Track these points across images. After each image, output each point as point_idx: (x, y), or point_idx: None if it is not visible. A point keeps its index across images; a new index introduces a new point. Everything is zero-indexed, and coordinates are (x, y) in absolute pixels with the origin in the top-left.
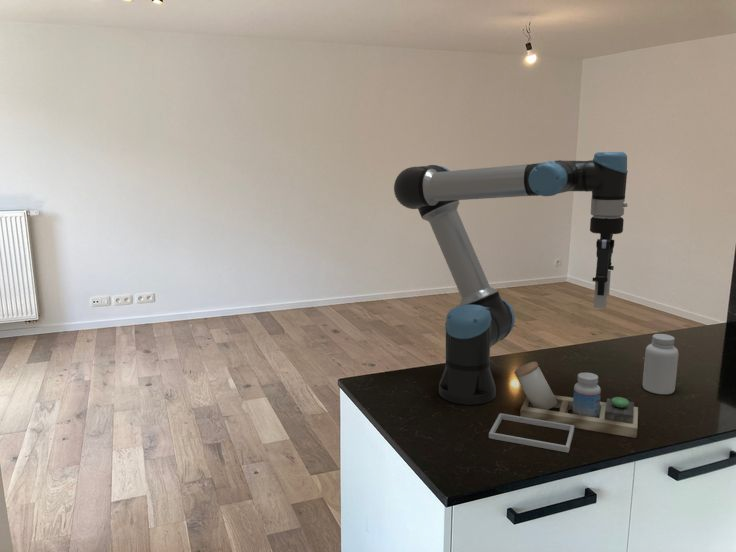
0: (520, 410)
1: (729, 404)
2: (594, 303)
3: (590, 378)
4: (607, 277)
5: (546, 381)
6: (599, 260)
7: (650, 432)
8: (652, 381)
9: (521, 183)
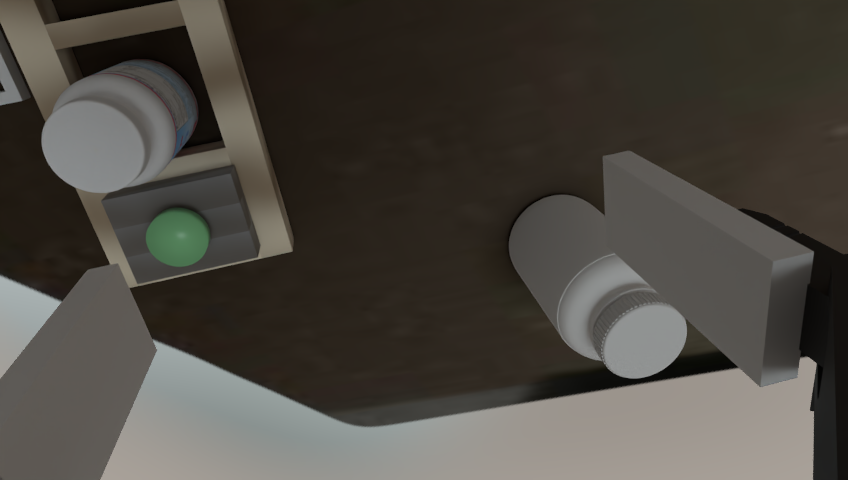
0: None
1: (526, 402)
2: (75, 292)
3: (66, 168)
4: (705, 312)
5: None
6: None
7: (202, 293)
8: (522, 246)
9: None
